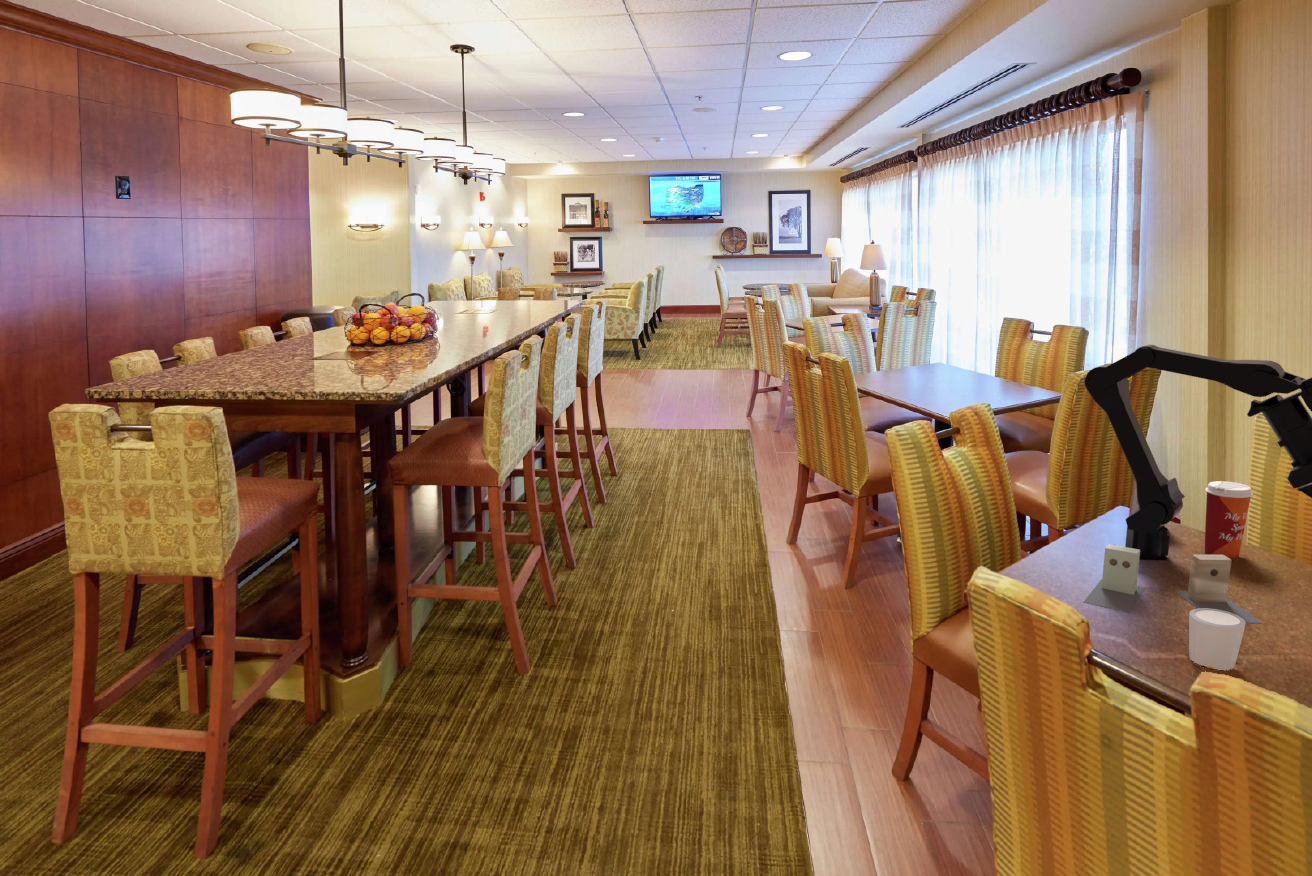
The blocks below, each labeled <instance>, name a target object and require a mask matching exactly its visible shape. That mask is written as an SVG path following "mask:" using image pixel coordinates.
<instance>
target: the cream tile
mask: <svg viewBox="0 0 1312 876" xmlns="http://www.w3.org/2000/svg"><path fill="white" fill-rule="evenodd" d="M1190 563H1191V564H1190V571H1189V572H1190V573H1189V580H1188V589H1187V591H1188V597H1190V598H1191V599H1192V600H1194V601H1195V602H1226V600H1227V598H1228V589H1229V583H1230V582H1229V581H1230V574H1231V565H1232V558H1228V557H1226V556H1225V555H1207V554H1192V555H1191V561H1190Z"/></svg>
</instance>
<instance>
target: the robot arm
mask: <svg viewBox="0 0 1312 876" xmlns="http://www.w3.org/2000/svg"><path fill="white" fill-rule="evenodd" d="M1147 368H1148V369H1149V368H1150V369H1154V370H1160V371H1164V372H1170V373H1174V374H1179V375H1185V376H1189V377H1194V378H1199V379H1204V380H1209V381H1213V382H1214V381H1215V382H1217V383H1219V384H1222V385H1225V386H1227V387H1229V388H1230V389H1233V390H1235V391H1238V392H1241V393H1244V394H1246V395H1249V396H1251V397H1256V398H1264V397H1267V396H1270V395H1271V394H1276V395H1273V396H1271V397H1269V398H1266V399H1264V400H1261V401H1260V400H1257V399H1253V400H1252V401H1250V407H1249V410H1248V412H1247V417H1249V418H1250V417H1254V416H1256V415H1259V414H1260V413H1261V414H1262V415H1263V417H1264V418H1265V420H1266V421H1267V423H1268V425H1269V426H1270V427H1271V430H1272V431H1273V432H1274V434H1275V436H1276V437H1277V439H1278V441H1277V444H1278V445H1279V448H1284V450H1285V452H1286V453H1287V454H1288V456H1289V458H1290V459H1291V463H1290V465H1291V466H1292V469H1290V471H1289V474H1288V475H1287V476H1288V477H1287V478H1286V479H1287V481H1288V483H1290V486H1291V487H1292V488H1293V489H1297V491H1298V492H1301V493H1303V494H1304V495H1306V496H1308V497H1309V498H1310V499H1312V416H1311V414H1310V412H1309V411H1311V413H1312V376H1311V377H1309V378H1307V379H1306V378H1304V377H1300V376H1299V375H1295V374H1293V373H1290V372H1289V371H1288V372H1287V371H1285V370H1284V368H1283V367H1282V365H1281V364H1280V363H1278V362H1276V361H1272V360H1264V359H1223V358H1217V357H1212V356H1207V355H1202V354H1198V353H1197V354H1196V353H1192V352H1186V351H1181V350H1176V349H1170V348H1164V347H1159V346H1157V345H1155V344H1146V345H1142V346H1140V347H1138V348H1136V349H1135V351H1133V352H1131V353H1129V354H1128V355H1125V356H1124V357H1122V358H1120V359H1118V360H1116V361H1115V362H1113V363H1111V362H1110V363H1105V364H1102V365H1101V364H1100V365H1099V366H1097V367H1094V368H1092V369H1090V370H1089V371H1088V372H1087V373H1086V375H1085V377H1084V380H1083V381H1084V383H1083V384H1084V387H1085V389H1086V390H1087V392H1088V394H1089V395H1090V396H1091V398H1092V399H1093V401H1094V402H1095V403H1096V405H1098V407H1100V409H1102V411H1103V412H1104V413H1105V414H1106V416H1107V418H1108V420H1109V422H1110V424H1111V427H1112V429H1113V432H1114V434H1115V436H1116V439H1117V440H1118V444H1119V446H1120V447H1121V450H1122V452H1123V455H1124V457H1125V459H1126V461H1127V464H1128V466H1129V468H1130V470H1131V473H1132V475H1133V477H1134V481H1136V489H1137V500H1138V504H1139V509H1138V510H1136V511H1135V512H1134V513H1133V514H1131V515H1130V516H1129V515H1128V516H1127V517H1126V518H1125V522H1126V535H1125V545H1124V547H1127V548H1133V549H1139V550H1140V558H1139V561H1169V560H1170V558H1168V556H1169V551H1170V541H1171V536H1170V535H1169V528H1168V527H1167V528H1166V527H1165V526H1163V525H1164V524H1167V525H1168V524H1169V523H1170V522H1171V521H1172V520H1173V519H1174V518H1176V516H1178V515H1179V514H1180V513H1181V511H1182V510H1183V507H1184V502H1183V499H1184V498H1185V497H1186V496H1185V495H1184V493H1182V492H1181V490H1180V488H1179V484H1178V480H1177V478H1176V477H1173V478H1171V479H1169V480H1168V478H1166V476H1164V474H1163V473H1162V472H1161V470H1160V468H1159V466H1158V464H1157V461H1156V460H1155V457H1154V455H1153V453H1152V450H1151V448H1150V446H1149V444H1148V442H1147V441H1148V440H1147V439H1146V437H1145V435H1144V432H1143V430H1142V428H1141V425H1140V422H1139V420H1138V419H1137V416H1136V414H1135V412H1134V410H1133V407H1132V404H1131V393H1130V392H1131V390H1130V389H1131V388H1130V384H1129V379H1130V378H1131V377H1133V376H1135V375H1137V374H1139V373H1141V372H1142V371H1143V370H1145V369H1147ZM1297 390H1300V391H1298V392H1296V391H1297ZM1292 392H1296V393H1293V394H1291V393H1292ZM1280 394H1284V395H1285V394H1286V395H1289V394H1291V395H1289V396H1286V397H1283V396H1282V395H1280ZM1300 397H1301V398H1302V399H1303V402H1304V403H1305V405H1306V406H1305V405H1304V403H1303V402H1302V400H1301V399H1300ZM1306 407H1307V408H1308V409H1309V411H1308V409H1307V408H1306Z"/></svg>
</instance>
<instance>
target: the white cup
mask: <svg viewBox="0 0 1312 876" xmlns="http://www.w3.org/2000/svg"><path fill="white" fill-rule="evenodd" d="M1188 615H1189V616H1188V636H1189V637H1188V658H1189V657H1190V658H1189V660H1190V661H1191V660H1192V661H1194V662H1195V663H1197V664H1199V665H1204V666H1210V667H1214V668H1215V669H1218V670H1217V671H1219V670H1224V671H1223V672H1225V671H1226V670H1227V671H1231V670H1234V669H1235V667H1236V663H1237V660H1238V657H1239V656H1238V655H1239V651H1240V648H1241V644H1242V640H1243V636H1244V633H1245V632H1244V631H1245V628H1246V624H1247V623H1246V622H1245V621H1244V619H1242V618H1241V617H1239V616H1238V615H1235V614H1233V613H1230V612H1227V611H1222V610H1218V609H1210V608H1195V609H1191V610H1190V611H1189V613H1188ZM1192 661H1191V662H1192ZM1194 662H1193V663H1194ZM1195 663H1194V664H1195ZM1197 664H1196V665H1197ZM1199 665H1198V666H1199ZM1230 669H1231V670H1230Z"/></svg>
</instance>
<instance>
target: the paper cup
mask: <svg viewBox="0 0 1312 876" xmlns="http://www.w3.org/2000/svg"><path fill="white" fill-rule="evenodd" d="M1204 491H1205V492H1206V502H1205V503H1206V506H1205V508H1206V509H1205V527H1204V529H1205V530H1204V554H1205V553H1206V554H1205V555H1207V554H1208V555H1225V556H1226V557H1228V558H1229V559H1239V556H1240V552H1241V548H1242V542H1243V538H1244V532H1245V528H1246V523H1247V518H1248V514H1249V513H1248V512H1249V508H1250V507H1249V506H1250V502H1251V498H1252V497H1253V496H1254V494H1253V492H1252V487H1250V486H1249V485H1248V484H1244V483H1240V482H1235V481H1224V480H1218V481H1217V480H1216V481H1210V482H1209V483H1208V484H1207V487H1206V488H1205V489H1204Z"/></svg>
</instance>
